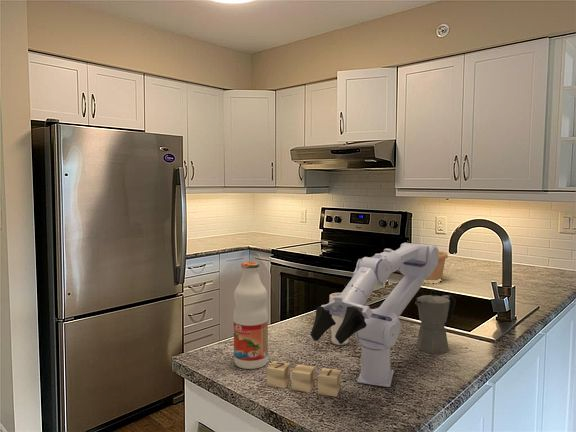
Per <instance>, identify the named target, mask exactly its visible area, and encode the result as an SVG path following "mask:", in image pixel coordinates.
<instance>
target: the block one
mask: <svg viewBox="0 0 576 432" xmlns="http://www.w3.org/2000/svg"><path fill="white" fill-rule="evenodd" d="M341 389H342V370H339V369H331V368H326V367H323V368H322V369H320V371H319V373H318V375H317V394H318V395H323V396H330V397H338V395H339V392H340V391H341Z"/></svg>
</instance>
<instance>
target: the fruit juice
mask: <svg viewBox="0 0 576 432" xmlns="http://www.w3.org/2000/svg"><path fill="white" fill-rule="evenodd" d="M240 269H241V271H242V273H241V276H240V280H239V282H238V284H237V286H236V288H235V289H234V292H233V300H234V304H235V307H234V309H233V361H234V364H235V366H237V368H241V369H245V370H254V369H255V370H256V369H259V368H262V367H264V366H266V365H267V363H268V360H269V326H268V325H269V321H268V320H269V314H268V309H267V305H266V303H267V300H268V299H267V298H268V292H267V289H266V287H265V285H263V283H262V281H261V277H260V274H259V269H260V262H257V261H244V262H241V264H240Z"/></svg>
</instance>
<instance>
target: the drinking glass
mask: <svg viewBox="0 0 576 432" xmlns="http://www.w3.org/2000/svg"><path fill="white" fill-rule="evenodd" d="M341 293H342V292H334V293H331V294H329V299H328V300H329V301H328V303H330V302H332V301H334V297H335V296H340V295H341ZM332 318H333V320H334V321H335V323H336V324H335V325H333V326H331V327H330V330H331V331H330V332H331V333H330V334H331V342H332V344H334V345H336V346H344V345H347V344H349V342H350V341H349V340H350V339H349V338H350V337H349V338H348V339H347V340H346V341H345V342H343V343H342V344H340V343H339V342H338V341H337V339H336V338H335V335H336V333H337V331H338V329H339V327H340V326H341V324H342V322H343V318H340V317H337V316H334V315H332Z"/></svg>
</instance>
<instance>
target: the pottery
mask: <svg viewBox="0 0 576 432" xmlns="http://www.w3.org/2000/svg"><path fill="white" fill-rule="evenodd" d="M438 251H439V259H438V264H437V267H436V268H435V269H434V271H433V272H432V273H431V275H430V276H429V277H427V278H426V279H425V280H438V279H441V278H442V279H443V274H444V268H445V262H446V259H448V257H449V256H448V255H449V254H448V253H447V252H444V251H440V250H438Z"/></svg>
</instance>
